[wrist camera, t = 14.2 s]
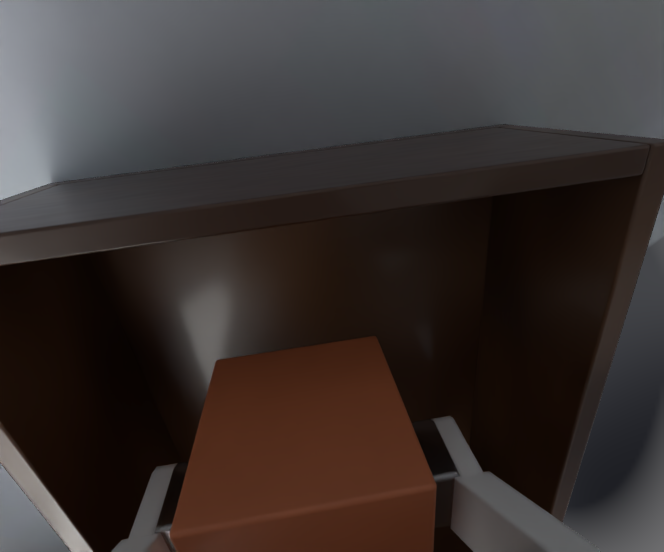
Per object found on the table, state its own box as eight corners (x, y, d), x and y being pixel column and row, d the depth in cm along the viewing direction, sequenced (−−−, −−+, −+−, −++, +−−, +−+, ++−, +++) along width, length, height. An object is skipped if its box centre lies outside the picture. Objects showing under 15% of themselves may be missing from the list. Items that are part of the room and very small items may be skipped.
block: (247, 467, 12) (229, 658, 8) (214, 358, 10) (165, 537, 6) (382, 443, 12) (431, 614, 8) (376, 333, 10) (439, 486, 6)
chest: (49, 183, 11) (-168, 256, 6) (505, 123, 12) (682, 139, 7) (192, 495, 19) (154, 658, 13) (473, 443, 19) (546, 576, 14)
